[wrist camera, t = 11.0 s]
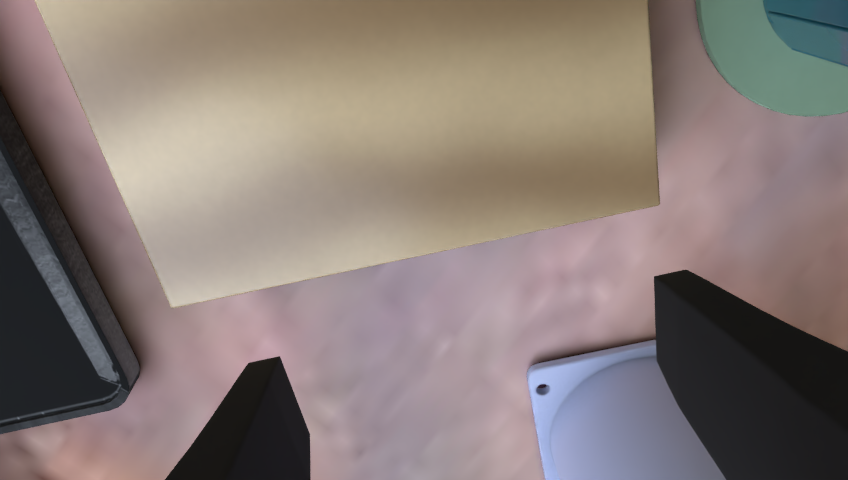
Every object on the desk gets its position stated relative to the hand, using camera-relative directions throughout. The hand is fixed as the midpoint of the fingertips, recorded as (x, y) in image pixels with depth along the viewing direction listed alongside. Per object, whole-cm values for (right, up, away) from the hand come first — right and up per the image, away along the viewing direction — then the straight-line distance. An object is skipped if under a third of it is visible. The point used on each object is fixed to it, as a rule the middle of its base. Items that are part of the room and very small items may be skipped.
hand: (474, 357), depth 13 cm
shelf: (-3, +9, +7) cm, 12 cm away
